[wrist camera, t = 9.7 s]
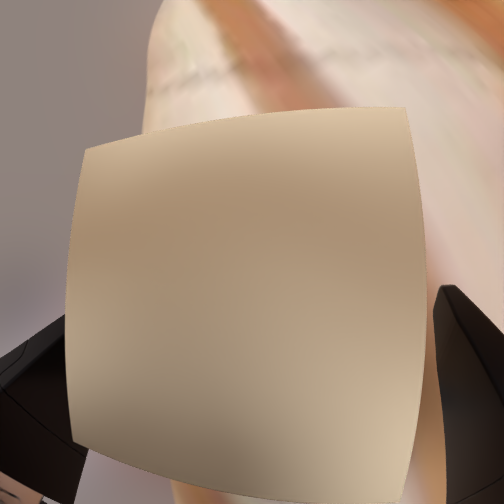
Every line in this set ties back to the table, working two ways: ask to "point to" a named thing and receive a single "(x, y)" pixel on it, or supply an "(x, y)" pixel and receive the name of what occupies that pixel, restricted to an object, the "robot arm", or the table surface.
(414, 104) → the table surface
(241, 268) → the birch pillar
